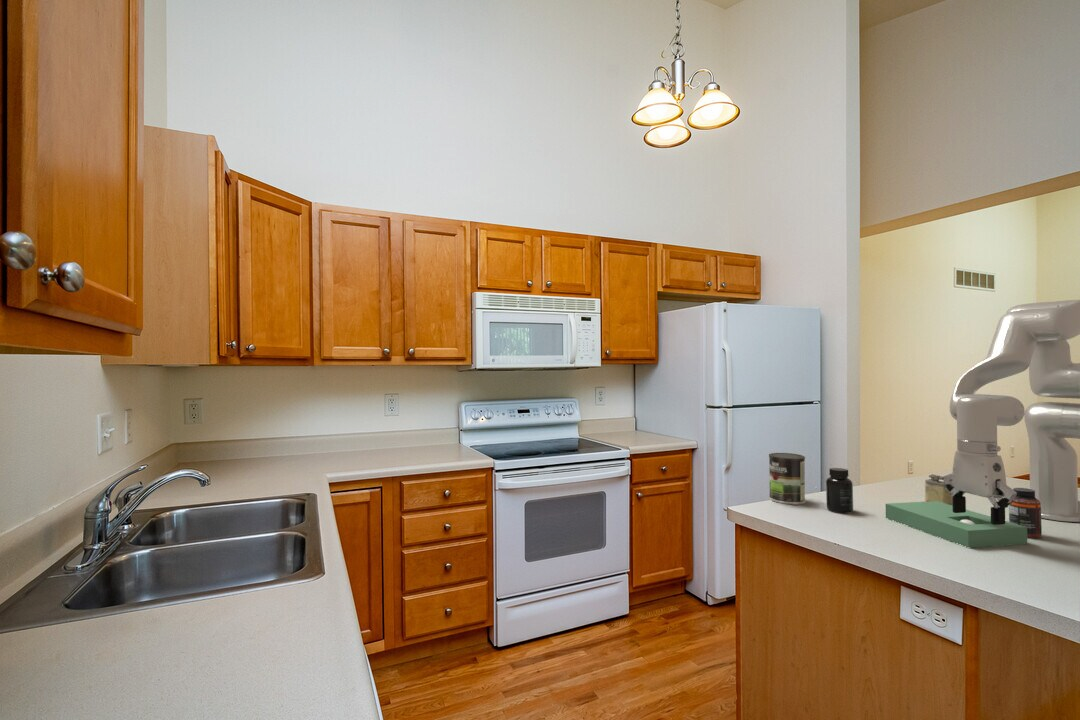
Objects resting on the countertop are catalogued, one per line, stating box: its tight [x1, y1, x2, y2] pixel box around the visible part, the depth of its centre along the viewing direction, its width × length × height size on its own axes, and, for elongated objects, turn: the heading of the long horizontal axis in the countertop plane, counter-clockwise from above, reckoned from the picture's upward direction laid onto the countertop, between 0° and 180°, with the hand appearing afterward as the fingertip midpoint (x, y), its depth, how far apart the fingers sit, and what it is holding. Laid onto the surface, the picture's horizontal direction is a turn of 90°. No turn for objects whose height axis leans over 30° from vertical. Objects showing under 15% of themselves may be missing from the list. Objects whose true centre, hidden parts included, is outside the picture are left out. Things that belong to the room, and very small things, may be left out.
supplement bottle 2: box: [1008, 487, 1043, 539], centre depth 130 cm, size 6×6×11 cm
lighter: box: [924, 473, 953, 506], centre depth 153 cm, size 7×4×10 cm, turn 23°
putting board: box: [885, 501, 1028, 548], centre depth 134 cm, size 16×24×4 cm, turn 8°
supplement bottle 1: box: [825, 467, 854, 514], centre depth 153 cm, size 7×7×12 cm
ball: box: [960, 519, 975, 525], centre depth 129 cm, size 4×4×4 cm
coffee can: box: [768, 452, 806, 505], centre depth 165 cm, size 10×10×14 cm
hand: (977, 518), depth 127 cm, fingers open, 9 cm apart
